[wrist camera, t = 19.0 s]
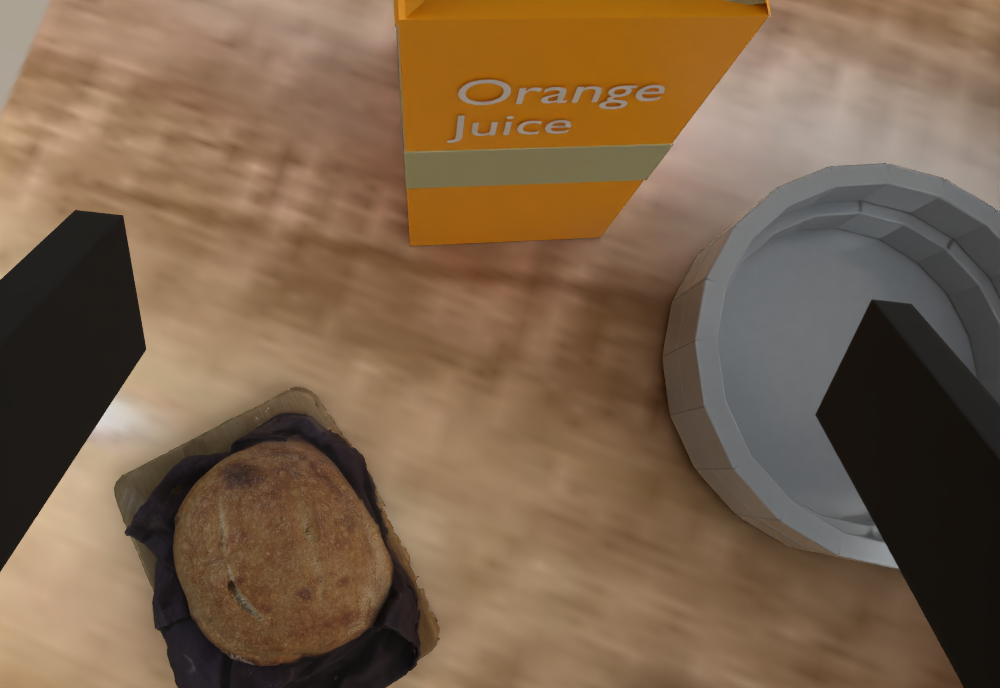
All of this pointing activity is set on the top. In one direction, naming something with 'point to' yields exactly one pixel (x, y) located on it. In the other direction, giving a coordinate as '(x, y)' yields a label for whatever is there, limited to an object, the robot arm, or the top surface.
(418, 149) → the orange juice
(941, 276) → the pan
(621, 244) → the top surface
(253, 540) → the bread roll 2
